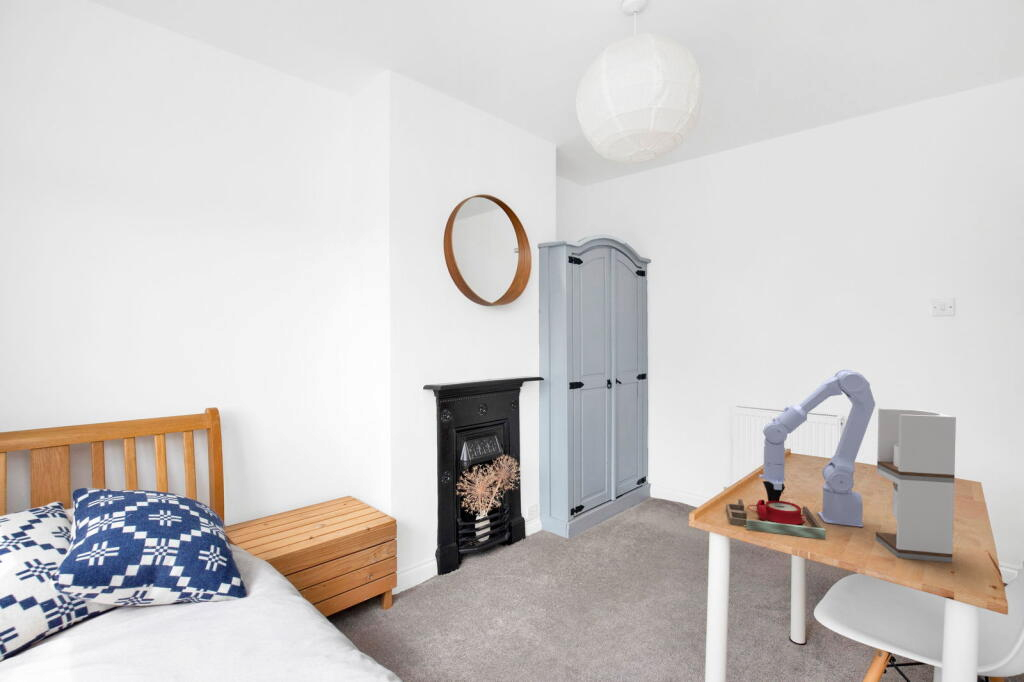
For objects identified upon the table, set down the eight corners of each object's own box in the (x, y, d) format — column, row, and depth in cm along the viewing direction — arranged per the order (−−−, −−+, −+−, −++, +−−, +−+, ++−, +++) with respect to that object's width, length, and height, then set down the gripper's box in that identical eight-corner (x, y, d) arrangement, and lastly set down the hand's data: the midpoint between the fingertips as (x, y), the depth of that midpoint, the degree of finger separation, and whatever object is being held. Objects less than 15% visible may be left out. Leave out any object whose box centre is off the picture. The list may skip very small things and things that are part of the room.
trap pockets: (740, 510, 151) (740, 504, 151) (745, 526, 139) (745, 519, 139) (726, 508, 152) (726, 503, 152) (730, 524, 140) (730, 517, 140)
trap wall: (806, 512, 150) (806, 504, 150) (825, 539, 130) (825, 530, 130) (738, 504, 156) (738, 496, 156) (746, 529, 136) (746, 520, 136)
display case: (924, 544, 128) (928, 410, 128) (952, 562, 118) (955, 417, 117) (875, 539, 130) (878, 408, 130) (898, 557, 120) (901, 414, 119)
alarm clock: (810, 516, 137) (752, 496, 143) (804, 537, 138) (747, 516, 143) (805, 504, 146) (751, 486, 152) (799, 524, 147) (745, 505, 153)
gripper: (756, 455, 158) (755, 497, 159) (763, 466, 145) (762, 512, 145) (780, 457, 156) (780, 500, 156) (790, 469, 142) (789, 515, 143)
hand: (773, 506), depth 150 cm, fingers closed
